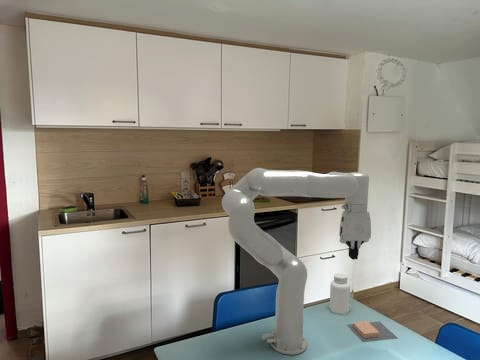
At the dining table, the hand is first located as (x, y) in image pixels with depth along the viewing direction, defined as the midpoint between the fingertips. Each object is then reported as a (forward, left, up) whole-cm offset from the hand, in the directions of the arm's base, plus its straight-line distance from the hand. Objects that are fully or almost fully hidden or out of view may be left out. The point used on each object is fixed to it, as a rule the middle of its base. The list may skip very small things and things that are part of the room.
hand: (353, 258), depth 131 cm
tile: (+10, 0, -28) cm, 29 cm away
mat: (+9, 0, -29) cm, 30 cm away
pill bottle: (+5, +18, -29) cm, 35 cm away
